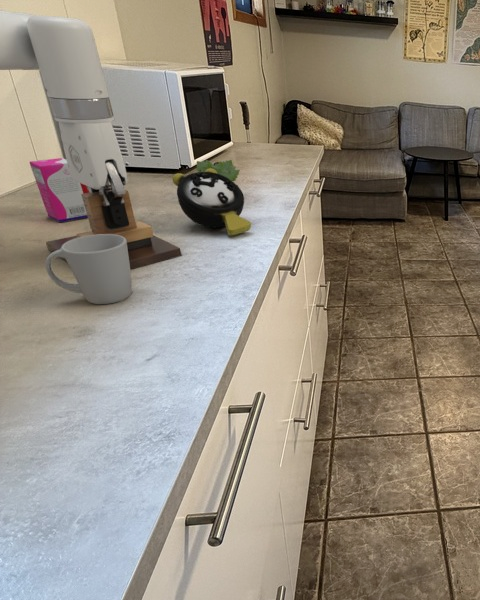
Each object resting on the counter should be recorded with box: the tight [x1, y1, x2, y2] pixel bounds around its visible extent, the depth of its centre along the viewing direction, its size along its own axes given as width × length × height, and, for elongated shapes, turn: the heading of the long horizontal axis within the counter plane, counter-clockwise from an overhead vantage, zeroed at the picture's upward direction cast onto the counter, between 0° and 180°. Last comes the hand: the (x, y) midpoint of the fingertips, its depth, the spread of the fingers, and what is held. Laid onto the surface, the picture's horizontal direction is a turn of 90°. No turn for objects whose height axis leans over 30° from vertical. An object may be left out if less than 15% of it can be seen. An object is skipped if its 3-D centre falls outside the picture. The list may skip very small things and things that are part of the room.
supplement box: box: [29, 157, 88, 223], centre depth 96 cm, size 6×6×12 cm
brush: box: [76, 189, 154, 250], centre depth 80 cm, size 10×4×10 cm, turn 145°
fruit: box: [195, 159, 241, 187], centre depth 115 cm, size 10×11×15 cm
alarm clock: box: [172, 168, 252, 236], centre depth 97 cm, size 12×15×15 cm
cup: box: [45, 234, 133, 305], centre depth 68 cm, size 8×10×8 cm
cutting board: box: [45, 234, 182, 270], centre depth 84 cm, size 14×18×2 cm
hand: (114, 224), depth 80 cm, fingers closed on brush, 2 cm apart
